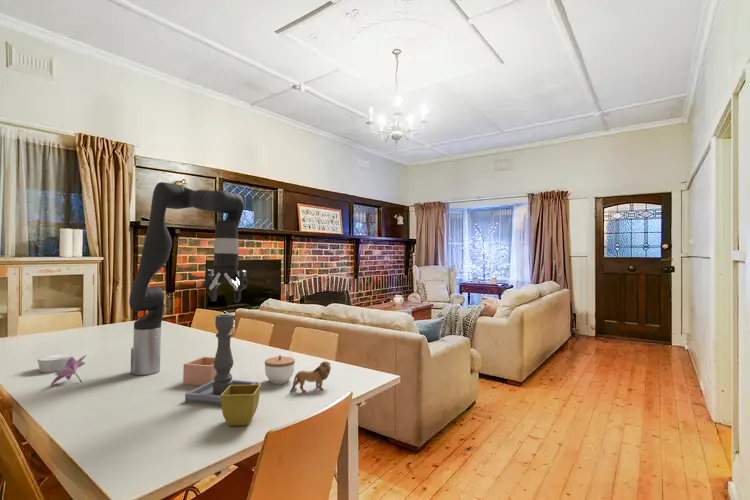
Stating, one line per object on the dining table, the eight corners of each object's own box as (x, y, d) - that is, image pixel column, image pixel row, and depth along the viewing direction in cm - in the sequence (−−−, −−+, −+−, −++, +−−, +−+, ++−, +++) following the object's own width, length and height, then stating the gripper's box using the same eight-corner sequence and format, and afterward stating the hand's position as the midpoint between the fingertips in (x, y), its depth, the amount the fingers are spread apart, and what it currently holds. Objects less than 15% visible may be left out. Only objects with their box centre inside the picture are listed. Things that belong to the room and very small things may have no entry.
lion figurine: (327, 384, 138) (327, 359, 138) (333, 388, 134) (333, 362, 134) (287, 390, 131) (287, 364, 131) (292, 395, 126) (292, 368, 126)
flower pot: (229, 416, 109) (229, 384, 110) (260, 415, 110) (261, 383, 110) (219, 429, 101) (220, 395, 101) (253, 429, 101) (254, 394, 102)
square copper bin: (183, 383, 137) (183, 364, 137) (203, 374, 147) (203, 356, 147) (210, 386, 134) (210, 366, 134) (228, 377, 145) (229, 358, 145)
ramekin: (41, 375, 144) (41, 361, 145) (33, 370, 151) (33, 356, 151) (77, 369, 153) (77, 355, 153) (68, 364, 160) (69, 351, 160)
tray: (184, 401, 120) (185, 393, 120) (216, 385, 135) (216, 378, 135) (230, 406, 116) (230, 398, 116) (258, 389, 132) (258, 382, 132)
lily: (91, 378, 145) (78, 356, 145) (103, 371, 139) (89, 348, 139) (54, 397, 135) (40, 373, 135) (65, 390, 129) (50, 366, 129)
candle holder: (225, 396, 122) (227, 317, 123) (208, 394, 124) (210, 316, 124) (236, 389, 128) (238, 314, 129) (220, 388, 130) (221, 313, 130)
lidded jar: (300, 379, 144) (300, 354, 144) (281, 387, 134) (282, 360, 134) (277, 375, 148) (277, 350, 148) (257, 383, 138) (258, 357, 138)
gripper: (200, 252, 125) (198, 302, 124) (239, 252, 122) (238, 303, 121) (214, 252, 132) (213, 299, 132) (251, 252, 129) (250, 301, 129)
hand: (225, 301), depth 126 cm, fingers open, 8 cm apart
